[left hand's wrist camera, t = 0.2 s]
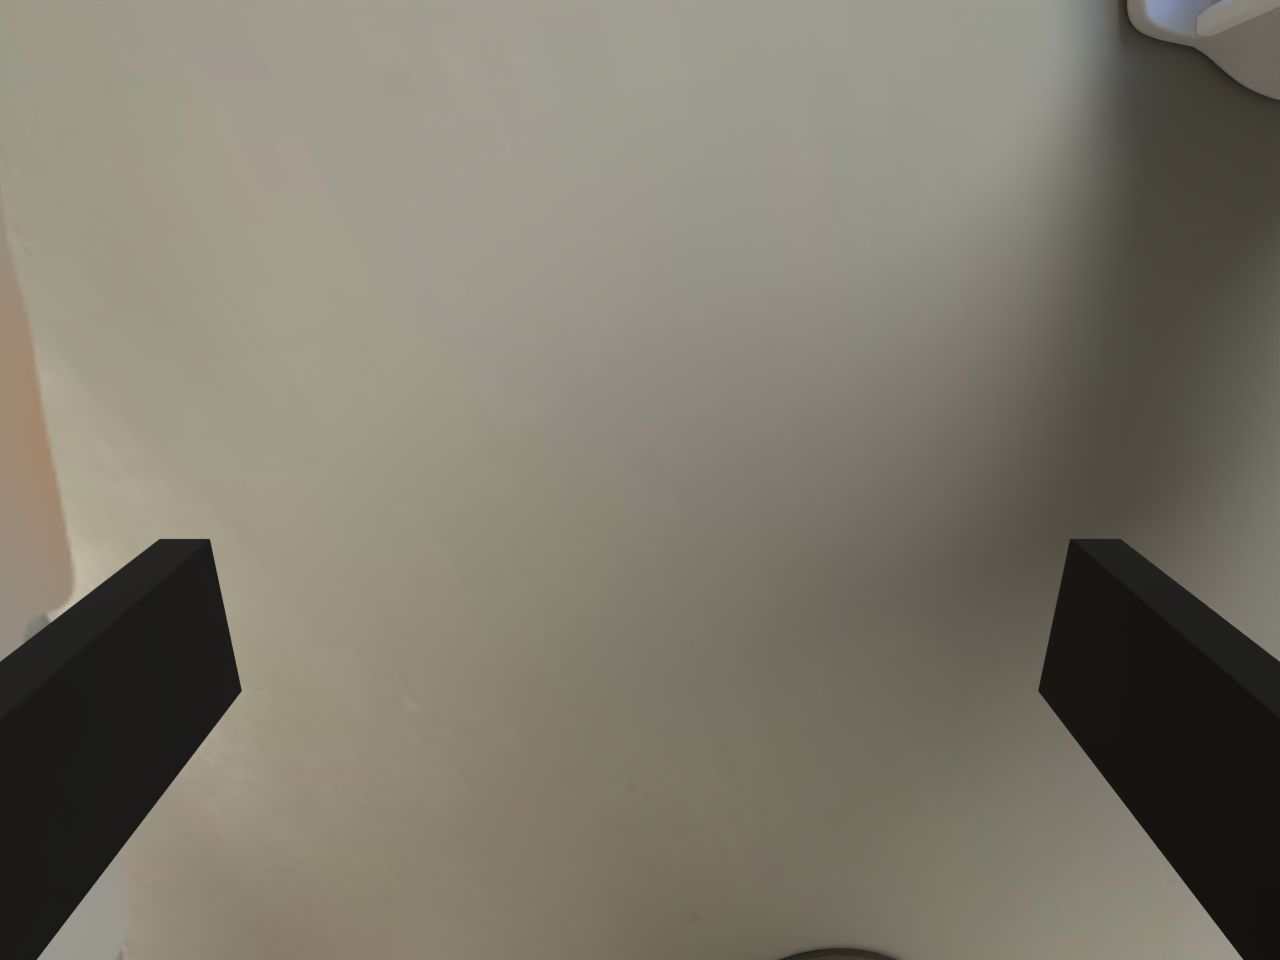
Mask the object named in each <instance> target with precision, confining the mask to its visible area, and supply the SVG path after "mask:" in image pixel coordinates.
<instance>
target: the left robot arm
mask: <svg viewBox="0 0 1280 960" xmlns="http://www.w3.org/2000/svg"><path fill="white" fill-rule="evenodd" d="M241 691H242V690H241V685H240V680H239V675H238V671H237V666H236V661H235V656H234V652H233V647H232V642H231V637H230V633H229V628H228V623H227V618H226V614H225V609H224V604H223V599H222V595H221V590H220V585H219V580H218V576H217V571H216V566H215V561H214V557H213V552H212V547H211V542H210V539H159V540H158V541H156V542H155V543H154V544H153V545H151V546H150V547H149V548H147V549H146V550H145V551H144V552H142V553H141V554H140V555H138V556H137V557H136V558H134V559H133V560H132V561H131V562H129V563H128V564H127V565H125V566H124V567H123V568H121V569H120V570H119V571H118V572H116V573H115V574H114V575H112V576H111V577H110V578H108V579H107V580H106V581H105V582H103V583H102V584H101V585H99V586H98V587H97V588H95V589H94V590H93V591H92V592H90V593H89V594H88V595H86V596H85V597H84V598H82V599H81V600H80V601H79V602H77V603H76V604H75V605H73V606H72V607H71V608H70V609H68V610H67V611H66V612H64V613H63V614H62V615H60V616H59V617H58V618H57V619H55V620H54V621H53V622H51V623H50V624H49V625H47V626H46V627H45V628H44V629H42V630H41V631H40V632H38V633H37V634H36V635H34V636H33V637H32V638H31V639H29V640H28V641H27V642H25V643H24V644H23V645H21V646H20V647H19V648H18V649H16V650H15V651H14V652H12V653H11V654H10V655H8V656H7V657H6V658H5V659H3V660H2V661H1V662H0V960H37V958H38V957H39V956H40V955H41V953H42V952H43V951H44V949H45V948H46V947H47V945H48V944H49V943H50V941H51V940H52V939H53V938H54V936H55V935H56V934H57V932H58V931H59V930H60V928H61V927H62V926H63V924H64V923H65V922H66V920H67V919H68V918H69V917H70V915H71V914H72V913H73V911H74V910H75V909H76V907H77V906H78V905H79V903H80V902H81V901H82V900H83V898H84V897H85V896H86V894H87V893H88V892H89V890H90V889H91V888H92V886H93V885H94V884H95V882H96V881H97V880H98V879H99V877H100V876H101V875H102V873H103V872H104V871H105V869H106V868H107V867H108V865H109V864H110V863H111V862H112V860H113V859H114V858H115V856H116V855H117V854H118V852H119V851H120V850H121V848H122V847H123V846H124V844H125V843H126V842H127V841H128V839H129V838H130V837H131V835H132V834H133V833H134V831H135V830H136V829H137V827H138V826H139V825H140V824H141V822H142V821H143V820H144V818H145V817H146V816H147V814H148V813H149V812H150V810H151V809H152V808H153V806H154V805H155V804H156V803H157V801H158V800H159V799H160V797H161V796H162V795H163V793H164V792H165V791H166V789H167V788H168V787H169V786H170V784H171V783H172V782H173V780H174V779H175V778H176V776H177V775H178V774H179V772H180V771H181V770H182V769H183V767H184V766H185V765H186V763H187V762H188V761H189V759H190V758H191V757H192V755H193V754H194V753H195V751H196V750H197V749H198V748H199V746H200V745H201V744H202V742H203V741H204V740H205V738H206V737H207V736H208V734H209V733H210V732H211V731H212V729H213V728H214V727H215V725H216V724H217V723H218V721H219V720H220V719H221V717H222V716H223V715H224V713H225V712H226V711H227V710H228V708H229V707H230V706H231V704H232V703H233V702H234V700H235V699H236V698H237V696H238V695H239V694H240V693H241ZM1038 691H1039V693H1040V694H1041V695H1042V696H1043V698H1044V699H1045V700H1046V702H1047V703H1048V704H1049V706H1050V707H1051V708H1052V710H1053V711H1054V712H1055V713H1056V715H1057V716H1058V717H1059V719H1060V720H1061V721H1062V723H1063V724H1064V725H1065V727H1066V728H1067V729H1068V731H1069V732H1070V733H1071V734H1072V736H1073V737H1074V738H1075V740H1076V741H1077V742H1078V744H1079V745H1080V746H1081V748H1082V749H1083V750H1084V751H1085V753H1086V754H1087V755H1088V757H1089V758H1090V759H1091V761H1092V762H1093V763H1094V765H1095V766H1096V767H1097V769H1098V770H1099V771H1100V772H1101V774H1102V775H1103V776H1104V778H1105V779H1106V780H1107V782H1108V783H1109V784H1110V786H1111V787H1112V788H1113V789H1114V791H1115V792H1116V793H1117V795H1118V796H1119V797H1120V799H1121V800H1122V801H1123V803H1124V804H1125V805H1126V806H1127V808H1128V809H1129V810H1130V812H1131V813H1132V814H1133V816H1134V817H1135V818H1136V820H1137V821H1138V822H1139V824H1140V825H1141V826H1142V827H1143V829H1144V830H1145V831H1146V833H1147V834H1148V835H1149V837H1150V838H1151V839H1152V841H1153V842H1154V843H1155V844H1156V846H1157V847H1158V848H1159V850H1160V851H1161V852H1162V854H1163V855H1164V856H1165V858H1166V859H1167V860H1168V862H1169V863H1170V864H1171V865H1172V867H1173V868H1174V869H1175V871H1176V872H1177V873H1178V875H1179V876H1180V877H1181V879H1182V880H1183V881H1184V882H1185V884H1186V885H1187V886H1188V888H1189V889H1190V890H1191V892H1192V893H1193V894H1194V896H1195V897H1196V898H1197V900H1198V901H1199V902H1200V903H1201V905H1202V906H1203V907H1204V909H1205V910H1206V911H1207V913H1208V914H1209V915H1210V917H1211V918H1212V919H1213V920H1214V922H1215V923H1216V924H1217V926H1218V927H1219V928H1220V930H1221V931H1222V932H1223V934H1224V935H1225V936H1226V938H1227V939H1228V940H1229V941H1230V943H1231V944H1232V945H1233V947H1234V948H1235V949H1236V951H1237V952H1238V953H1239V955H1240V956H1241V957H1242V958H1243V960H1280V662H1279V661H1278V660H1277V659H1275V658H1274V657H1273V656H1272V655H1270V654H1269V653H1268V652H1266V651H1265V650H1264V649H1262V648H1261V647H1260V646H1259V645H1257V644H1256V643H1255V642H1253V641H1252V640H1251V639H1249V638H1248V637H1247V636H1246V635H1244V634H1243V633H1242V632H1240V631H1239V630H1238V629H1236V628H1235V627H1234V626H1233V625H1231V624H1230V623H1229V622H1227V621H1226V620H1225V619H1223V618H1222V617H1221V616H1220V615H1218V614H1217V613H1216V612H1214V611H1213V610H1212V609H1210V608H1209V607H1208V606H1207V605H1205V604H1204V603H1203V602H1201V601H1200V600H1199V599H1198V598H1196V597H1195V596H1194V595H1192V594H1191V593H1190V592H1188V591H1187V590H1186V589H1185V588H1183V587H1182V586H1181V585H1179V584H1178V583H1177V582H1175V581H1174V580H1173V579H1172V578H1170V577H1169V576H1168V575H1166V574H1165V573H1164V572H1162V571H1161V570H1160V569H1159V568H1157V567H1156V566H1155V565H1153V564H1152V563H1151V562H1149V561H1148V560H1147V559H1146V558H1144V557H1143V556H1142V555H1140V554H1139V553H1138V552H1136V551H1135V550H1134V549H1133V548H1131V547H1130V546H1129V545H1127V544H1126V543H1125V542H1124V541H1122V540H1121V539H1070V542H1069V547H1068V552H1067V557H1066V561H1065V566H1064V571H1063V576H1062V580H1061V585H1060V590H1059V595H1058V599H1057V604H1056V609H1055V614H1054V618H1053V623H1052V628H1051V633H1050V637H1049V642H1048V647H1047V652H1046V656H1045V661H1044V666H1043V671H1042V675H1041V680H1040V685H1039V690H1038ZM785 960H896V959H894V958H891V957H888V956H885V955H882V954H878V953H874V952H869V951H863V950H853V949H830V950H821V951H815V952H809V953H805V954H801V955H797V956H794V957H791V958H788V959H785Z"/></svg>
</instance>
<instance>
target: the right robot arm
mask: <svg viewBox="0 0 1280 960" xmlns="http://www.w3.org/2000/svg"><path fill="white" fill-rule="evenodd" d="M1127 11H1128V16H1129V19H1130V21H1131V23H1132V25H1133V26H1134V27H1135V28H1136V29H1137V30H1138V31H1140V32H1141V33H1143V34H1145V35H1147V36H1150V37H1152V38H1156V39H1159V40H1163V41H1167V42H1171V43H1176V44H1181V45H1186V46H1192V47H1194V48H1196V49H1197V50H1199V51H1201V52H1202V53H1203V54H1205V55H1206V56H1207V57H1209V58H1210V59H1211V60H1212V61H1213V62H1214V63H1216V64H1217V65H1218V66H1219V67H1220V68H1221V69H1222V70H1223V71H1225V72H1226V73H1227V74H1228V75H1229V76H1230V77H1232V78H1233V79H1234V80H1236V81H1237V82H1238V83H1240V84H1242V85H1243V86H1245V87H1247V88H1248V89H1251V90H1253V91H1255V92H1257V93H1259V94H1261V95H1264V96H1267V97H1269V98H1273V99H1277V100H1280V0H1127Z"/></svg>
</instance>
